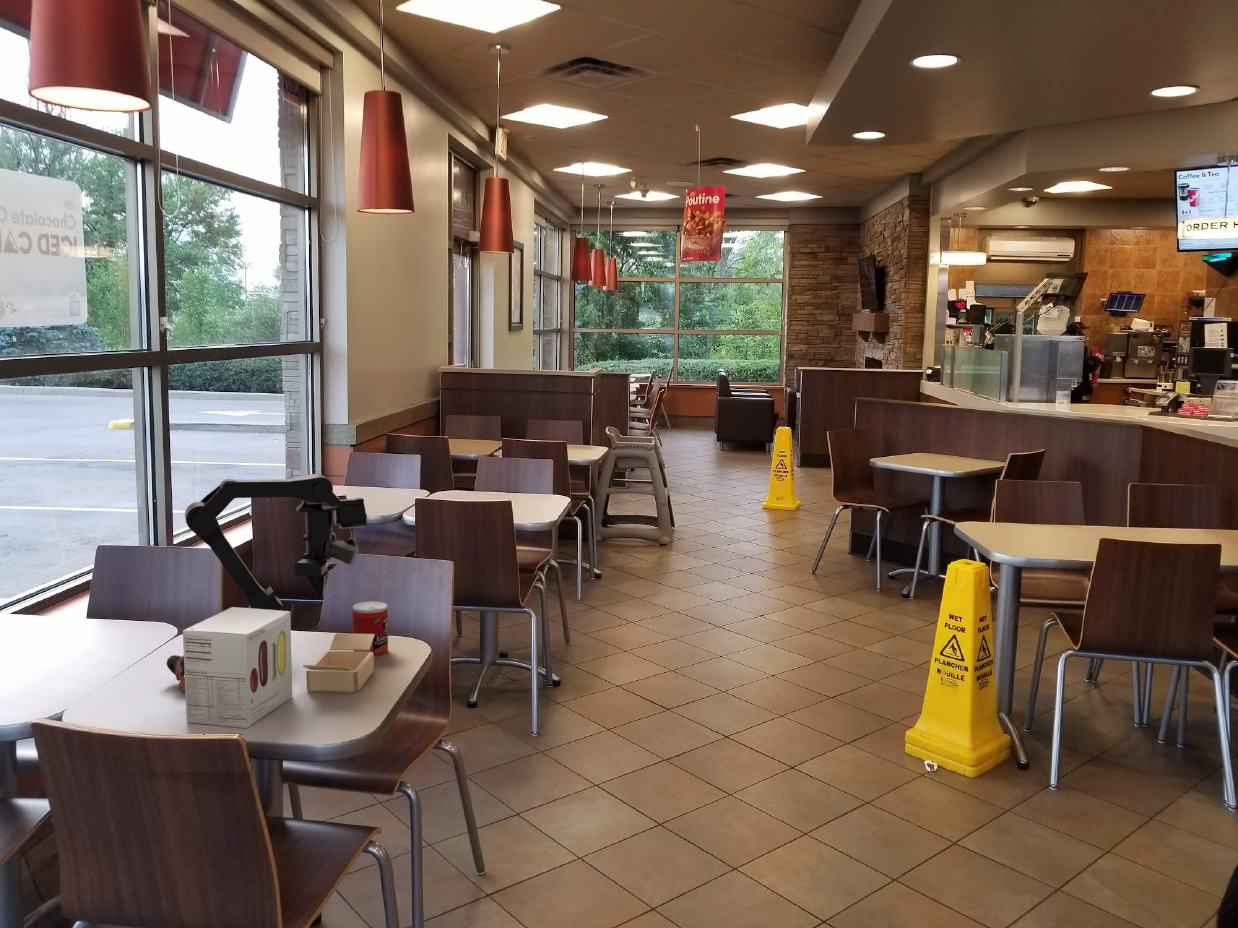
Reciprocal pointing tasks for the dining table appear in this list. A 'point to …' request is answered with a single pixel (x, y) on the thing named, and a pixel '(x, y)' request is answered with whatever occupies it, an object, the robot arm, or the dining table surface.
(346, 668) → the near flap
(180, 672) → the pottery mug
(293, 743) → the dining table surface
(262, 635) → the supplement box
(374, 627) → the canned food
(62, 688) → the dining table surface
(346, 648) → the far flap
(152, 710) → the dining table surface
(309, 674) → the carton
